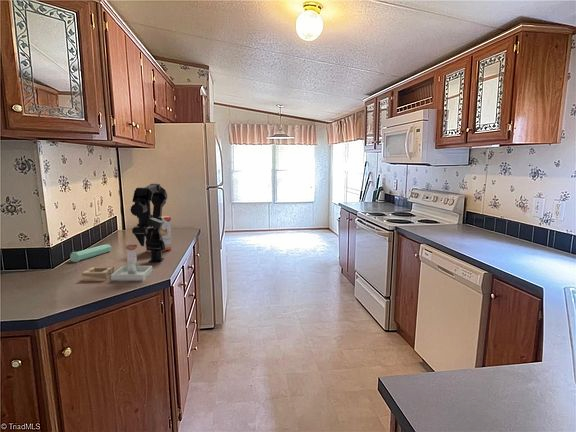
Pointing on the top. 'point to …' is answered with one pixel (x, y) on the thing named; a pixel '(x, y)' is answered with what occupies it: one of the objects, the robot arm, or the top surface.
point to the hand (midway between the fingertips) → (145, 244)
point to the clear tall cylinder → (131, 259)
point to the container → (89, 253)
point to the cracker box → (165, 232)
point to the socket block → (97, 274)
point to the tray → (124, 276)
